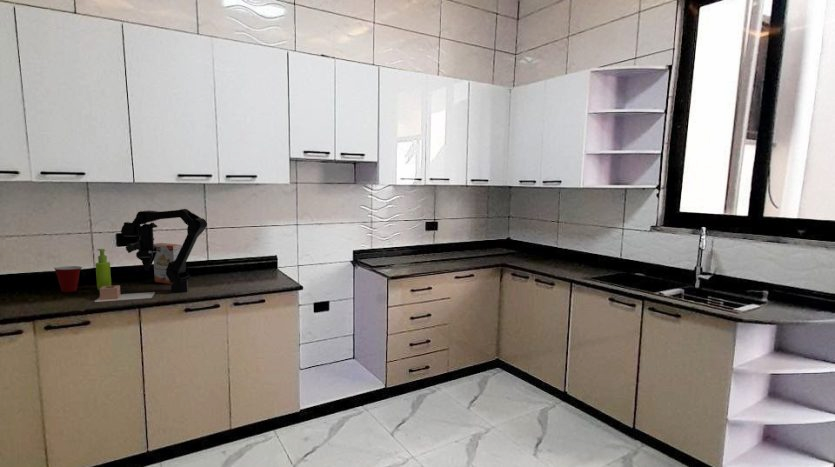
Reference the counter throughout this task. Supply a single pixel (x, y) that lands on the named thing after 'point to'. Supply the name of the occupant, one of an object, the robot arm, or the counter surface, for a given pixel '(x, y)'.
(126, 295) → the base plate
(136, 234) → the robot arm
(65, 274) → the plastic cup
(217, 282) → the counter surface
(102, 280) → the soap dispenser
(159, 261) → the cracker box
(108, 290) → the pink hollow square block
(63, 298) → the counter surface
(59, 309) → the counter surface
